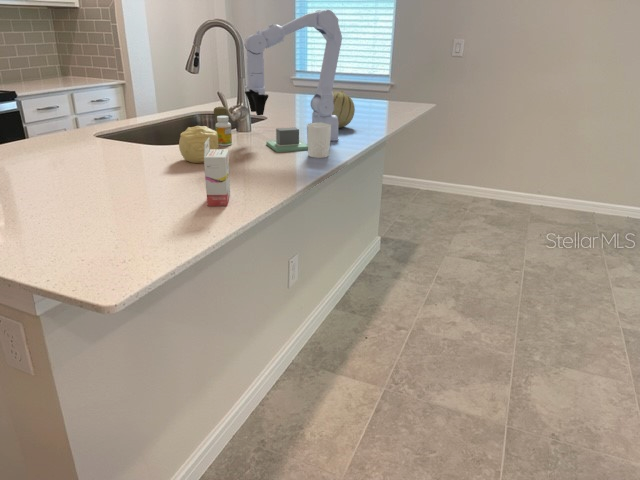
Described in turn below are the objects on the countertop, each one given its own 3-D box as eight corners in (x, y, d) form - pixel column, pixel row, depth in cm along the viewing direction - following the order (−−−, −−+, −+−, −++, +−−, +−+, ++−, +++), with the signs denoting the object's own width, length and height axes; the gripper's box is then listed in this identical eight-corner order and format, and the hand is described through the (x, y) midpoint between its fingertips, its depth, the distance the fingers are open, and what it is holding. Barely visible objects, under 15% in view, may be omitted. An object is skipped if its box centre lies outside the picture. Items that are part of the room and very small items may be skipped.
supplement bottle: (213, 144, 175) (211, 116, 171) (225, 142, 179) (224, 114, 175) (222, 146, 172) (221, 118, 168) (235, 144, 175) (233, 116, 172)
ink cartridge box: (228, 206, 116) (224, 144, 110) (206, 206, 115) (202, 144, 110) (231, 195, 124) (228, 136, 118) (211, 195, 123) (207, 136, 117)
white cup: (333, 154, 165) (334, 123, 161) (326, 159, 158) (326, 128, 154) (311, 151, 167) (311, 122, 163) (303, 157, 160) (303, 126, 156)
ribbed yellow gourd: (313, 129, 204) (313, 91, 198) (326, 123, 216) (327, 87, 210) (347, 132, 199) (348, 93, 193) (358, 126, 211) (360, 89, 205)
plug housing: (295, 141, 175) (295, 127, 173) (299, 144, 172) (299, 129, 170) (276, 142, 173) (276, 128, 171) (279, 145, 170) (279, 130, 168)
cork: (226, 138, 184) (225, 108, 179) (211, 137, 185) (209, 107, 180) (232, 135, 189) (231, 106, 185) (217, 134, 190) (216, 105, 186)
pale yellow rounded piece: (185, 167, 147) (182, 130, 143) (176, 158, 157) (173, 123, 152) (223, 163, 152) (221, 127, 147) (212, 154, 161) (209, 121, 157)
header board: (298, 142, 180) (298, 132, 179) (310, 149, 170) (310, 138, 169) (266, 144, 176) (266, 134, 175) (276, 152, 166) (276, 141, 164)
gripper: (239, 71, 174) (240, 110, 179) (249, 75, 162) (251, 117, 167) (258, 70, 176) (259, 109, 182) (270, 74, 164) (271, 116, 169)
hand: (257, 113), depth 175 cm, fingers open, 7 cm apart
